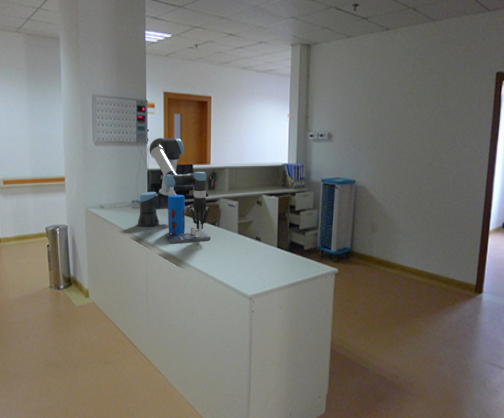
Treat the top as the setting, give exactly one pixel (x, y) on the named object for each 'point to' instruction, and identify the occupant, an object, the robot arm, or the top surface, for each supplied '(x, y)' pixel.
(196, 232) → the fader
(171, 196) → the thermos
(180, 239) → the console
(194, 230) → the fader
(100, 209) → the top surface
